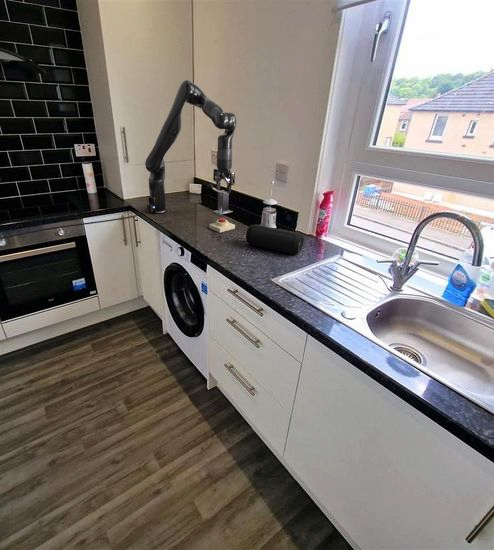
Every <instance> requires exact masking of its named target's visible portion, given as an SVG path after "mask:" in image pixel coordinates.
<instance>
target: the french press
mask: <svg viewBox="0 0 494 550" xmlns="http://www.w3.org/2000/svg"><path fill="white" fill-rule="evenodd" d="M270 184H271V185H273V184H275V181H274V180H271V181H270ZM270 191H271V192H270V195H272V194H273V189H271V190H270ZM262 203H263V204H264V205H269V206H266V207H263V210H262V212H261V222H260V224H259V225H262V226H267V227H272V228H277V225H276V219H277V209H276V208H275V207H274V208H273V207H271V206H274V205H277V204H278V201H277V200H275V199H272V198H267V199H264V200H263V201H262Z"/></svg>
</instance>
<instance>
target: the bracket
mask: <svg viewBox="0 0 494 550" xmlns="http://www.w3.org/2000/svg"><path fill="white" fill-rule="evenodd" d="M220 191H221V192H222V191H223V194H222V196H221V195H220V193H219V192H217V210H212V212H214V213H216V214H218V215H225V214H230V213H233V212H234V211H233V210H230V209H229V199H230V198H229V197H230V193H227V191H225V190H224V189H222V190H221V189H220Z"/></svg>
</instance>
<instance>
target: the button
mask: <svg viewBox="0 0 494 550" xmlns="http://www.w3.org/2000/svg"><path fill="white" fill-rule="evenodd" d="M218 220H219V222H221V223H224V222H226V220H227V219H226V218H225V217H219V218H218Z"/></svg>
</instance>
